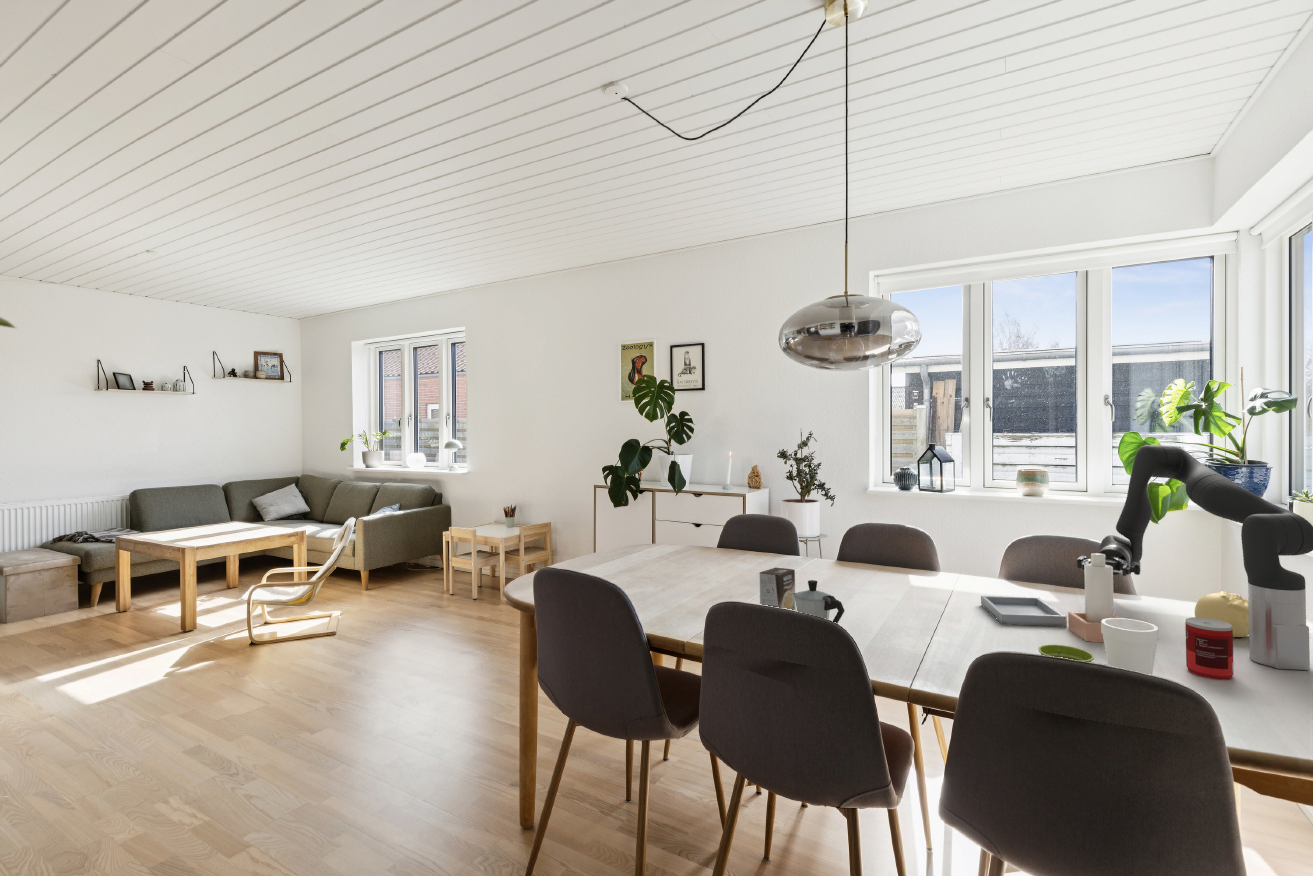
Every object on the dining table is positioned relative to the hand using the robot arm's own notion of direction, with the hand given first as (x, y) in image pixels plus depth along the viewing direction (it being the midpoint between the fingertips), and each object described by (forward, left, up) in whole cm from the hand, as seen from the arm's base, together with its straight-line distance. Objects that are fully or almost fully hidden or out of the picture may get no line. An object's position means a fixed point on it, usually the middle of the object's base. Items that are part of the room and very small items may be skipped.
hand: (1104, 569), depth 171 cm
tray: (+7, +19, -15) cm, 25 cm away
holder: (-10, +6, -15) cm, 19 cm away
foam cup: (-45, +15, -15) cm, 50 cm away
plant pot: (-51, +29, -15) cm, 60 cm away
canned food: (-34, -5, -15) cm, 38 cm away
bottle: (-10, +6, -15) cm, 19 cm away
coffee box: (-15, +87, -15) cm, 89 cm away
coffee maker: (-35, +77, -15) cm, 86 cm away
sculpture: (-4, -25, -15) cm, 30 cm away
